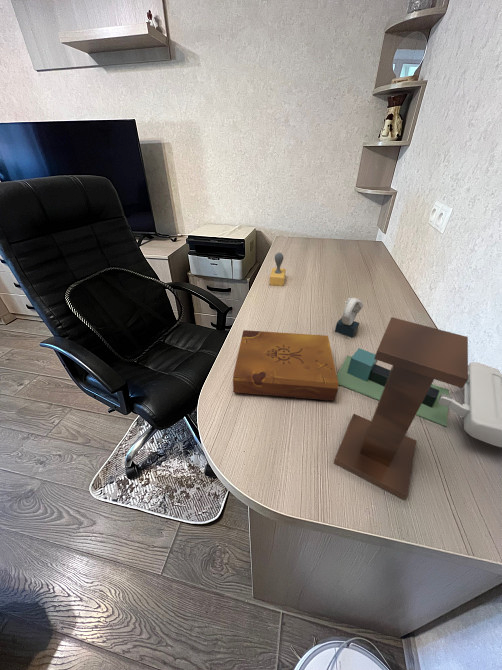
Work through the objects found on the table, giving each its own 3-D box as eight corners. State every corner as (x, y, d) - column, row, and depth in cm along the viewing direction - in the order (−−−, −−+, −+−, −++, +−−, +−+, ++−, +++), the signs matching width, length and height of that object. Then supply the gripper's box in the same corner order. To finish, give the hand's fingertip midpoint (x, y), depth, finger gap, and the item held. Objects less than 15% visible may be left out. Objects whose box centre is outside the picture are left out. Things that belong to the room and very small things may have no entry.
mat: (448, 391, 65) (449, 389, 65) (446, 427, 57) (446, 426, 57) (347, 356, 76) (347, 355, 76) (332, 382, 68) (332, 381, 67)
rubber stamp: (283, 286, 113) (285, 257, 106) (269, 285, 114) (270, 256, 107) (285, 276, 121) (287, 249, 114) (271, 275, 122) (273, 248, 115)
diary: (233, 395, 64) (232, 377, 61) (243, 346, 80) (243, 330, 76) (334, 403, 62) (339, 384, 59) (324, 351, 78) (328, 334, 74)
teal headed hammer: (430, 410, 60) (439, 394, 57) (347, 372, 70) (351, 357, 67) (435, 397, 63) (444, 381, 60) (354, 362, 73) (358, 347, 70)
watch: (359, 328, 87) (367, 297, 81) (350, 340, 82) (358, 308, 76) (342, 322, 90) (349, 292, 84) (332, 334, 85) (338, 302, 78)
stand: (414, 445, 54) (476, 335, 39) (404, 500, 45) (479, 388, 31) (352, 417, 59) (385, 312, 44) (333, 463, 51) (367, 351, 36)
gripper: (525, 368, 58) (449, 347, 65) (544, 441, 44) (444, 405, 50) (509, 389, 62) (438, 367, 68) (522, 463, 48) (431, 426, 54)
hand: (441, 384), depth 59 cm, fingers open, 8 cm apart
